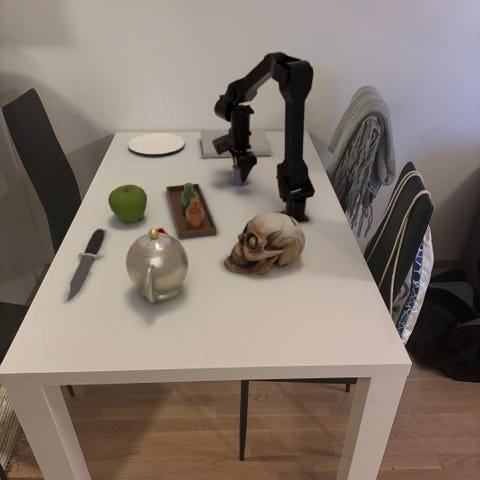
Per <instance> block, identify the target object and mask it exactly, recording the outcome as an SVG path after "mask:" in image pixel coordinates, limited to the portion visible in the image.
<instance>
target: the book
mask: <svg viewBox="0 0 480 480" xmlns="http://www.w3.org/2000/svg"><path fill="white" fill-rule="evenodd" d="M250 131H251V136H250V145H251V149H247V151H252V152H253V153H254V154H255V156H256V157H269V156H271V144H270V142H269V140H268V137H267V136H266V135H267V134H266V133H265V131H264V129H263V128H256V129H253V128H252V129H250ZM228 133H229V129H224V130H223V129H222V130H200V137H201V140H200V143H201V150H202V157H203V159H213V158H215V159H216V158H232V155H231V153H230V152H229V151H227V152H224V153H222V154H221V155H218V154H217V152H216V151H215V148H214V146H213V143H212V141H213V140H214V139H217V138H219V137H221V136H223V135H227V134H228Z"/></svg>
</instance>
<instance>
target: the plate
mask: <svg viewBox="0 0 480 480" xmlns="http://www.w3.org/2000/svg"><path fill="white" fill-rule="evenodd" d="M185 144H186V142H185V140H184V138H182V137H181V136H179V135H178V134H175V133H169V132H151V133H144V134H140V135H137V136H134V137H133V138H131V139H130V140H129V141H128V143H127V147H128V148H129V150H131V151H133V152H135V153H137V154H140V155H141V154H142V155H147V156H149V155H151V156H157V155H159V156H161V155H165V154H171V153H175V152H177V151H179V150H181V149H182V148H184V146H185Z"/></svg>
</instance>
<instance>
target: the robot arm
mask: <svg viewBox="0 0 480 480" xmlns="http://www.w3.org/2000/svg"><path fill="white" fill-rule="evenodd" d="M314 73H315V72H314V67H313V66H312V65H311V63H310V61H308V60H306V59H301V58H298V57H294V56H292V55H289V54H287V53H284V52H282V51H275V52H269V53H266V54H265V55H264V56H263V59H261V60H260V62H258V63H257V64H256V65H255V67H253V68H252V69H251V70H250V71H249V72H248V73H246V75H245V76H243V77H241V78H239V79H235V80H234V81H232V82H230V83H228V85H227V87H226V91H225V93H224V94H220V95H219V99H218V100H216V102H215V104H214V107H213V112H214V114H215V116H216V117H218V118H220V119H222V120H224V121H225V122H227V123H230V127H229V129H228V130H229V133H228V134H227V135H223V136H221V137H219V138H217V139H214V140H213V141H212V143H213V146H214V148H215V151H216V152H217V154H218V155H221V154H222V153H224V152H227V151H229V152H230V153H231V155H232V157H231V159H232V165H234V164H236V166H237V167H239V170H240V176H241V182H245V181H246V179H247V180H248V177H249V175H250V173H251V171H252V170H253V168H254V167H255V166H256V165H258V156H255V154H254V153H253V152H252V151H247V149H251V145H250V136H251V131H250V130H251V115H254V114H255V111H254V108H252V106H251V105H250V104H245V103H249V102H253V100H254V99H255V98H256V97H257V95H258V90H259V89H260V88H261V87H262V86H263V85H264V84H265V83H266V82H268V81H269V80H270V79H272V80H274V81H275V82H276V83H278V91H279V94H280V95H281V97H282V99H283V100H284V153H283V154H284V155H283V157H284V158H283V160H282V162H280V163H277V165H276V177H275V179H276V181H277V189H278V197H279V199H281V201H282V203H285V207H284V208H285V209H284V210H281V211H280V213H281V214H285V215H287V216H290V217H292V218H294V219H295V220H296V221H297V222H298V223H304V222H309V220H310V219H309V217H308V216H307V215H306V207H307V199H309V198H313V197H314V196H315V194H316V189H315V187H314V185H313V183H312V181H311V179H310V175H309V174H310V173H309V166H308V165H307V163H306V161H305V160H304V143H305V142H304V139H305V137H304V136H305V114H306V113H305V109H306V100H307V98H308V96H309V94H310V93H311V90H312V88H313V81H314V75H315V74H314ZM244 104H245V105H244Z"/></svg>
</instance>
